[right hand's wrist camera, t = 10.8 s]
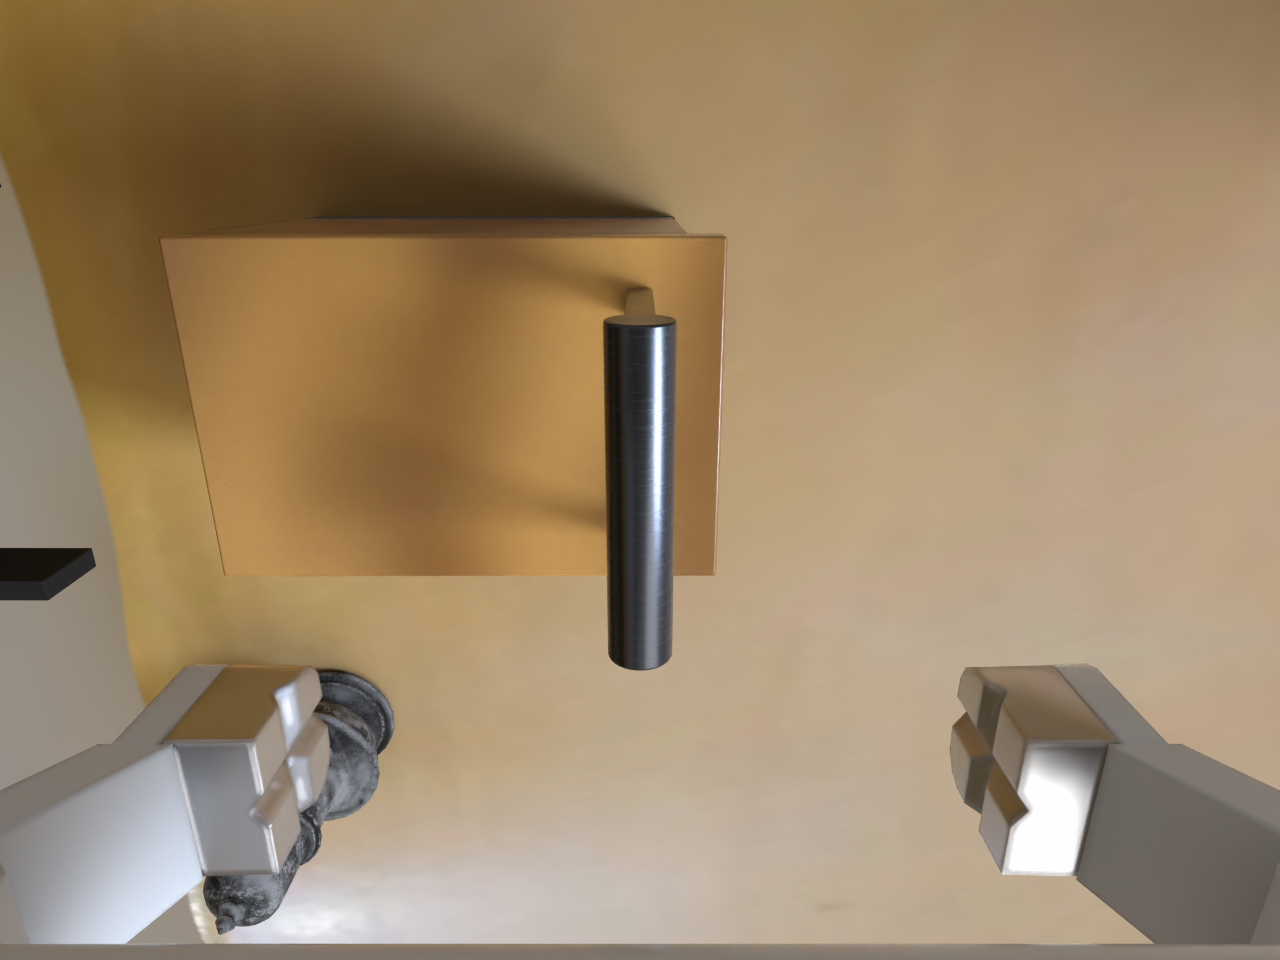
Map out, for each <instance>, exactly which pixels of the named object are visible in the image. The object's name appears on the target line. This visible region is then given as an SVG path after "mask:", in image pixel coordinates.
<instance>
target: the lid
mask: <svg viewBox="0 0 1280 960" xmlns="http://www.w3.org/2000/svg"><path fill="white" fill-rule="evenodd" d="M159 242H160V247H161V252H162V257H163V262H164V267H165V272H166V277H167V283H168V288H169V293H170V298H171V303H172V308H173V313H174V319H175V324H176V329H177V334H178V339H179V344H180V349H181V354H182V360H183V365H184V370H185V375H186V380H187V385H188V390H189V396H190V401H191V406H192V411H193V416H194V421H195V426H196V431H197V437H198V442H199V447H200V452H201V457H202V462H203V467H204V473H205V478H206V483H207V488H208V493H209V498H210V503H211V508H212V514H213V519H214V524H215V529H216V534H217V539H218V544H219V550H220V555H221V560H222V565H223V570H224V575H225V576H607V608H608V654H609V657H610V659H611V660H612V661H613V662H614V663H615V664H617V665H618V666H620V667H623V668H626V669H630V670H650V669H654V668H657V667H660V666H662V665H664V664H665V663H666V662H668V660H669V659H670V657H671V655H672V620H673V576H681V575H715V573H716V557H717V528H718V500H719V471H720V443H721V414H722V385H723V357H724V328H725V300H726V271H727V243H728V239H727V237H726V236H724V235H722V234H178V235H170V236H162V237H160V238H159Z"/></svg>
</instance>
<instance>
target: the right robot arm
mask: <svg viewBox="0 0 1280 960" xmlns="http://www.w3.org/2000/svg"><path fill="white" fill-rule="evenodd" d="M322 696H323V695H322V690H321V685H320V680H319V675H318V673H317V672H316V671H315V669H314V668H313V667H312V666H284V665H229V664H195V665H191V666H187V667H184V668H183V669H182V670H181V671H180V672H179V673H178V674H177V675H176V676H175V678H174V679H173V680H172V681H171V682H170V683H169V684H168V685H167V686H166V687H165V688H164V689H163V690H162V691H161V692H160V693H159V695H158V696H157V697H156V698H155V699H154V700H153V701H152V702H151V703H150V704H149V705H148V706H147V707H146V708H145V709H144V710H143V711H142V713H141V714H140V715H139V716H138V717H137V718H136V719H135V720H134V721H133V722H132V723H131V724H130V725H129V726H128V727H127V728H126V730H125V731H124V732H123V733H122V734H121V735H120V736H119V737H118V738H117V739H116V740H115V741H114V742H113V743H112V744H98V745H96V746H93V747H91V748H89V749H87V750H85V751H83V752H81V753H79V754H76V755H74V756H72V757H70V758H68V759H66V760H64V761H62V762H60V763H57V764H55V765H53V766H51V767H49V768H47V769H45V770H43V771H41V772H38V773H36V774H34V775H32V776H30V777H28V778H26V779H24V780H21V781H19V782H17V783H15V784H13V785H11V786H9V787H7V788H5V789H3V790H0V960H1280V791H1279V790H1277V789H1275V788H1273V787H1271V786H1269V785H1267V784H1265V783H1262V782H1260V781H1258V780H1256V779H1254V778H1252V777H1250V776H1248V775H1246V774H1244V773H1241V772H1239V771H1237V770H1235V769H1233V768H1231V767H1229V766H1227V765H1225V764H1222V763H1220V762H1218V761H1216V760H1214V759H1212V758H1210V757H1208V756H1206V755H1203V754H1201V753H1199V752H1197V751H1195V750H1193V749H1191V748H1189V747H1187V746H1185V745H1182V744H1168V743H1167V742H1166V741H1165V740H1164V739H1163V738H1162V737H1161V736H1160V735H1159V734H1158V733H1157V732H1156V731H1155V729H1154V728H1153V727H1152V726H1151V725H1150V724H1149V723H1148V722H1147V721H1146V720H1145V719H1144V718H1143V717H1142V716H1141V715H1140V714H1139V712H1138V711H1137V710H1136V709H1135V708H1134V707H1133V706H1132V705H1131V704H1130V703H1129V702H1128V701H1127V700H1126V699H1125V698H1124V697H1123V695H1122V694H1121V693H1120V692H1119V691H1118V690H1117V689H1116V688H1115V687H1114V686H1113V685H1112V684H1111V683H1110V682H1109V681H1108V680H1107V678H1106V677H1105V676H1104V675H1103V674H1102V673H1101V672H1100V671H1099V670H1098V669H1097V668H1095V667H1093V666H1091V665H1088V664H1063V665H1046V666H1004V667H966V668H965V670H964V672H963V674H962V676H961V678H960V683H959V689H958V695H957V696H958V698H959V699H960V701H961V703H962V704H963V706H964V708H965V709H966V711H967V712H966V713H965V714H964V715H963V716H962V717H961V718H960V719H959V720H958V721H957V722H956V723H955V724H954V725H953V727H952V735H951V744H950V755H951V766H952V773H953V776H954V779H955V783H956V786H957V789H958V791H959V793H960V795H961V797H962V799H963V801H964V803H965V804H967V805H968V806H970V807H971V808H973V809H974V810H976V811H977V812H979V813H980V814H982V815H981V820H980V826H979V832H980V834H981V836H982V837H983V839H984V841H985V843H986V845H987V847H988V849H989V851H990V852H991V854H992V856H993V858H994V860H995V862H996V864H997V866H998V868H999V869H1000V871H1001V873H1002V874H1015V875H1051V876H1077V879H1076V880H1077V881H1079V882H1080V883H1081V884H1082V885H1084V886H1085V887H1086V888H1087V889H1089V890H1090V891H1091V892H1092V893H1093V894H1095V895H1096V896H1097V897H1098V898H1100V899H1101V900H1102V901H1103V902H1104V903H1106V904H1107V905H1108V906H1109V907H1111V908H1112V909H1113V910H1114V911H1116V912H1117V913H1118V914H1119V915H1120V916H1122V917H1123V918H1124V919H1125V920H1127V921H1128V922H1129V923H1130V924H1131V925H1133V926H1134V927H1135V928H1136V929H1138V930H1139V931H1140V932H1141V933H1143V934H1144V935H1145V936H1146V937H1147V938H1149V939H1150V940H1151V941H1152V942H1154V943H1155V944H125V943H127V942H128V941H129V940H130V939H131V938H133V937H134V936H135V935H136V934H138V933H139V932H140V931H141V930H143V929H144V928H145V927H146V926H147V925H149V924H150V923H151V922H152V921H154V920H155V919H156V918H157V917H159V916H160V915H161V914H162V913H163V912H165V911H166V910H167V909H168V908H170V907H171V906H172V905H173V904H175V903H176V902H177V901H178V900H180V899H181V898H182V897H183V896H184V895H186V894H187V893H188V892H189V891H191V890H192V889H193V888H194V887H196V886H197V885H198V884H199V883H200V882H202V881H203V876H228V875H263V874H278V873H279V872H280V870H281V868H282V866H283V864H284V862H285V860H286V858H287V856H288V854H289V853H290V851H291V849H292V847H293V845H294V843H295V841H296V839H297V837H298V835H299V834H300V832H301V826H300V820H299V815H298V814H300V813H301V812H303V811H304V810H306V809H307V808H309V807H310V806H312V805H313V804H315V803H316V801H317V799H318V797H319V795H320V793H321V791H322V788H323V786H324V784H325V779H326V775H327V770H328V766H329V759H330V741H329V734H328V727H327V725H326V724H325V723H324V722H323V721H322V720H321V719H320V718H319V717H318V716H317V715H316V714H315V713H314V712H313V711H314V709H315V708H316V706H317V704H318V703H319V701H320V699H321V698H322Z"/></svg>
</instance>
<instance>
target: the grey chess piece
mask: <svg viewBox="0 0 1280 960" xmlns="http://www.w3.org/2000/svg"><path fill="white" fill-rule="evenodd" d="M318 675H319V680H320V685H321V690H322V695H323V696H322V698H321V699H320V701H319V703H318V704H317V706H316V708H315V709H314V711H313V712H314V713H315V714H316V715H317V716H318V717H319V718H320V719H321V720H322V721H323V722H324V723H325V724H326V725H327V727H328V734H329V741H330V759H329V766H328V770H327V775H326V779H325V784H324V786H323V788H322V791H321V793H320V795H319V797H318V799H317V801H316V803H315V804H313V805H312V806H310V807H309V808H307V809H306V810H304V811H303V812H301V813H300V814H298V815H299V820H300V826H301V832H300V834H299V835H298V837H297V839H296V841H295V843H294V845H293V847H292V849H291V851H290V853H289V854H288V856H287V858H286V860H285V862H284V864H283V866H282V868H281V870H280V872H279V873H278V874H263V875H228V876H207V877H206V879H205V883H204V888H203V894H204V898H205V901H206V905H207V907H208V908H209V910H210V912H211V913H212V914H213V915H214V916H215V917H217V919H216V921H215V923H216V926H217V930H218V933H219V934H220V935H221V934H223V933H226V932H228V931H231V930H233V929H234V927H235V926H252V925H256V924H258V923H260V922H262V921H265V920H267V919H268V918H270V917H271V916H272V915H273V914H274V913H275V912H276V910H277V909H278V908H279V906H280V904H281V902H282V900H283V898H284V896H285V894H286V892H287V890H288V888H289V886H290V884H291V882H292V880H293V878H294V876H295V874H296V872H297V870H298V868H299V866H301V865H303V864H305V863H307V862H309V861H310V860H311V859H312V858H313V857H314V856H315V855H316V853H317V851H318V849H319V847H320V845H321V838H322V835H321V830H320V828H321V826H322V824H323V822H324V821H330V820H335V819H339V818H343V817H346V816H348V815H350V814H352V813H354V812H356V811H358V810H360V809H361V808H362V807H363V806H364V805H365V804H366V803H367V802H368V801H369V800H370V799H371V797H372V795H373V793H374V792H375V790H376V788H377V784H378V779H379V766H378V757H377V755H378V754H380V753H381V752H382V751H383V750H384V749H385V748H386V746H387V745H388V743H389V741H390V739H391V737H392V735H393V729H394V717H393V711H392V709H391V707H390V705H389V703H388V700H387V699H386V698H385V697H384V695H383V694H382V693H381V692H380V691H379V690H378V689H377V688H376V687H374V686H373V685H372V684H370V683H369V682H368V681H366V680H364V679H362V678H359V677H357V676H355V675H352V674H347V673H342V672H322V673H318Z"/></svg>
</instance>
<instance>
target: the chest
mask: <svg viewBox="0 0 1280 960" xmlns="http://www.w3.org/2000/svg"><path fill="white" fill-rule="evenodd" d="M185 234H687V233H686V231H685V230H684V229H683V228H682V227H681V226H680V225H679V224H678V223H677V221H676V220H675V218H674V217H314V218H305V219H301V220H292V221H284V222H276V223H268V224H259V225H251V226H243V227H235V228H226V229H218V230H210V231H202V232H193V233H185Z"/></svg>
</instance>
